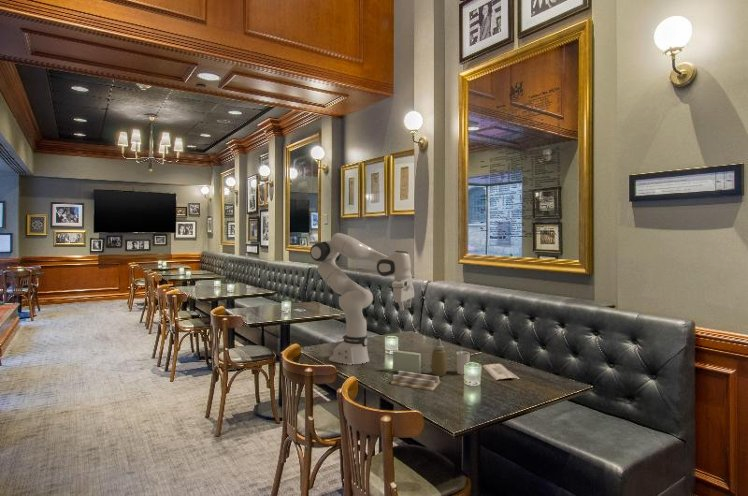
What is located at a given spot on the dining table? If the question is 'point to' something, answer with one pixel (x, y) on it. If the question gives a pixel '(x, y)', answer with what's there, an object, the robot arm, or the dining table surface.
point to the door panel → (406, 361)
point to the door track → (416, 380)
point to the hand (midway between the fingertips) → (405, 309)
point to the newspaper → (499, 372)
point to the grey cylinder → (462, 361)
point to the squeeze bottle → (439, 360)
